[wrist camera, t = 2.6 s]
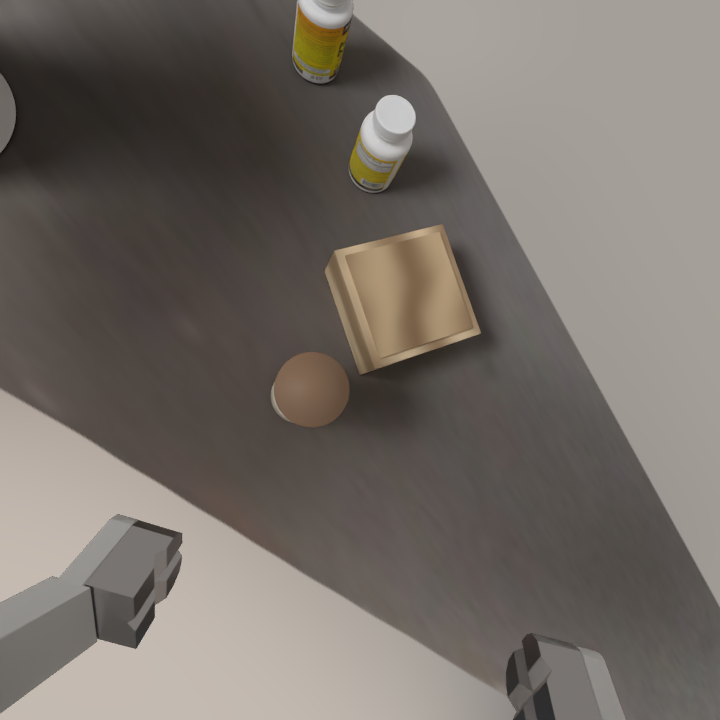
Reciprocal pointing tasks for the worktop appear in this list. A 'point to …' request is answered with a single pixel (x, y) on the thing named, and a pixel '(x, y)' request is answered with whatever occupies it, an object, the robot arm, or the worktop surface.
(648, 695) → the worktop surface
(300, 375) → the cream tin
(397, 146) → the supplement bottle
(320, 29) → the supplement bottle
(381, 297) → the oak block
